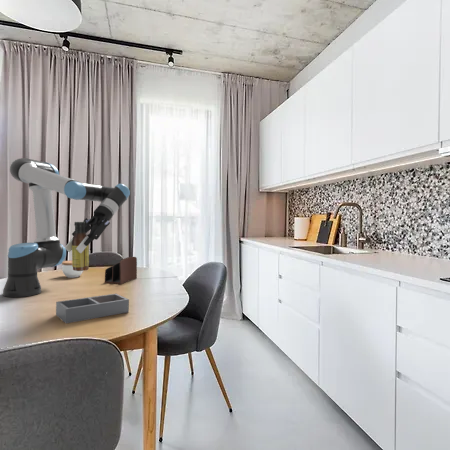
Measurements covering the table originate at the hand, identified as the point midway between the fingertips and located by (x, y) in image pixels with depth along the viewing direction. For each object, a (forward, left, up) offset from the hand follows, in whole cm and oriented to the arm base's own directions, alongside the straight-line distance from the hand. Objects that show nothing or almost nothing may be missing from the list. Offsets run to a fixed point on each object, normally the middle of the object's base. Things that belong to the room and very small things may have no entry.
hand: (72, 250), depth 128 cm
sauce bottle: (-1, +3, -9) cm, 9 cm away
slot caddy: (+12, +4, -23) cm, 27 cm away
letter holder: (-43, +40, -24) cm, 64 cm away
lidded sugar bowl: (-70, +22, -24) cm, 77 cm away
